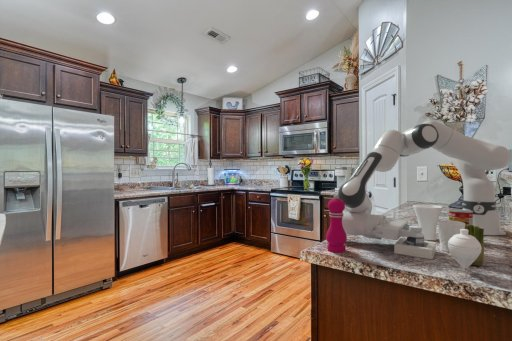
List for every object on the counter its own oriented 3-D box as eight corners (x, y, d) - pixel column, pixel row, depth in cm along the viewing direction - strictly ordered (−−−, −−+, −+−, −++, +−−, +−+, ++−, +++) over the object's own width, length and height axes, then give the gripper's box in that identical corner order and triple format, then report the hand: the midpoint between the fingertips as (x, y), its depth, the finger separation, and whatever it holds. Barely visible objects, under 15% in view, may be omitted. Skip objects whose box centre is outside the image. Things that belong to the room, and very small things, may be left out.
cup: (448, 240, 115) (448, 207, 114) (429, 243, 111) (429, 208, 111) (425, 234, 124) (425, 203, 124) (407, 236, 121) (407, 205, 121)
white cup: (457, 255, 96) (457, 225, 96) (433, 249, 103) (433, 221, 103) (470, 251, 100) (470, 223, 99) (446, 246, 107) (446, 219, 106)
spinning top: (452, 274, 78) (452, 231, 78) (444, 265, 85) (444, 225, 85) (486, 278, 76) (486, 233, 75) (475, 268, 83) (475, 227, 83)
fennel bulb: (486, 268, 83) (486, 227, 83) (466, 266, 85) (466, 226, 85) (480, 262, 88) (480, 223, 88) (461, 260, 90) (461, 222, 90)
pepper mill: (348, 253, 98) (347, 195, 98) (326, 252, 99) (326, 195, 99) (345, 247, 105) (345, 193, 105) (325, 246, 106) (325, 193, 106)
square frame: (400, 245, 107) (400, 237, 107) (435, 251, 100) (435, 242, 100) (394, 253, 98) (394, 244, 98) (432, 259, 91) (432, 249, 91)
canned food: (449, 236, 121) (449, 208, 120) (472, 239, 116) (472, 210, 116) (448, 240, 114) (448, 211, 114) (473, 243, 110) (473, 212, 110)
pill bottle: (403, 250, 102) (403, 225, 102) (417, 249, 102) (417, 225, 102) (413, 254, 97) (413, 228, 96) (427, 254, 97) (427, 228, 97)
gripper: (368, 222, 99) (413, 227, 90) (383, 214, 115) (422, 218, 107) (368, 240, 99) (413, 247, 90) (383, 230, 115) (422, 235, 107)
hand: (418, 231), depth 99 cm, fingers open, 8 cm apart
